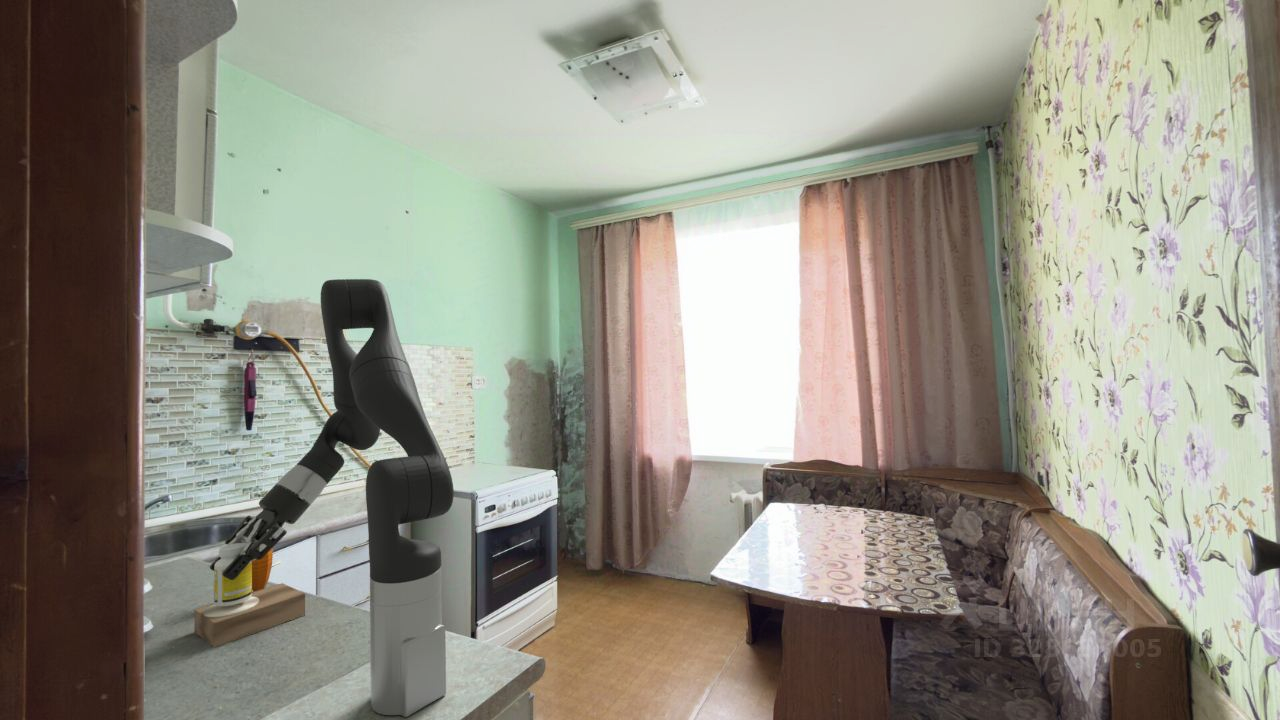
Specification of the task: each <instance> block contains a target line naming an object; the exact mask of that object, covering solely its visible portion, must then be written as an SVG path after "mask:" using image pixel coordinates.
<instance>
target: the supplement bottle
mask: <svg viewBox="0 0 1280 720" xmlns="http://www.w3.org/2000/svg"><path fill="white" fill-rule="evenodd" d="M245 546H246V543H235V544H230V545H227V544H225V545H222V546H221V547H219V548H218V549H219V551H218V554H219V555H218V557H221V559H220V560H218V561H217V562H216V563H215V565H214V573H213V574H214V577H213V579H214V580H213V587H214V590H213V591H214V592H213V594H214V595H213V598H214V599H213V600H214V601H213V602H214V603H213V604H215V605H217V606H229V605H234V604H238V603H241V602H243V601H245V600H247V599H249V598H250V597H251V595H252V592H253V590H252V561H250V563H249V564H248V565H247V566H246V567H245V568H244V569H243V570H242V572H241V573H240V574H239V575H238V576H237V577H236V578H235V579H234V580H230V579H228V578H226V577H224V576H223V575H222V573H223V571H224V570H225V569H226V568H227V567H228V566H229V565H230V564H231V563H232V561H233V560H234V559H235V558H236V557H237V556H238V555H240V553H241V552H242V550H243V549H244V547H245ZM240 556H241V555H240Z"/></svg>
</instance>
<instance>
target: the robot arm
mask: <svg viewBox="0 0 1280 720" xmlns="http://www.w3.org/2000/svg"><path fill="white" fill-rule="evenodd" d="M320 310H321V316H322V323H323V329H324V336H325V342H326V346H327V347H326V348H327V353H328V357H329V361H330V366H331V373H332V381H333V382H332V383H333V384H332V387H333V390H332V391H333V404H334V408H335V409H336V411H335V412H333V413H332V414H331V415H330V416H329V418H328V419H327V420H326V422H325V424H324V426H323V427H322V429H321V431H320V433H319V435H318V437H317V438H316V440H315V442H314V443H313V445H312V447H311V448H310V450H309V451H308V452H307V453H306V454H305V455H304V456H303V457H302V458H301V459H300V460H299V461H298V462H297V463H296V464H295V465H294V466H293V467H292V468H291V469H290V470H289V471H287V472H286V473H285V474H284V475H283V476H282V477H281V478H280V479H279V480H278V481H277V482H276V484H275V485H274V486H273V487H271V489H270V490H269V491H268V492H266V493H265V494H264V496H263V497H262V498H261V499H260V500H259V501H258V505H259V506H260V508H261V509H262V511H261V512H259V513H258V514H257V515H256V516H255V517H254V516H251V515H246V517H244V519H243V520H242V521H241V522H240V524H239V525H238V526H237V527H236V529H235V530H233V532H232V533H231V534H230V535H229V536H228V538H227V539H226V540H225V542H224V544H225V545H230V544H235V543H246V546H245V547H244V549H243V550H242V552H241V553H240V555H241V556H240V555H238V556H237V557H236V558H235V559H234V560H233V561H232V563H231V564H230V565H229V566H228V567H227V568H226V569H225V570H224V571H223V573H222V575H223V576H224V577H226V578H228V579H230V580H234V579H235V578H236V577H237V576H238V575H239V574H240V573H241V572H242V570H243V569H244V568H245V567H246V566H247V565H248V564H249V563H250V561H254V560H255V559H258V560H260V559H262V558H263V557H264V556H265V555H266V554H267V553H268V552H269V551H270V550H271V549H272V548H273V549H274V547H275V546H276V545H277V544H278V542H280V541H281V540H282V539H283V538H284V537H285V536H286V535H287V533H288V532H287V530H286V529H284V528H283V526H284V524H285V523H286V524H289V525H294V524H296V523H297V521H298V520H299V519H300V518H301V517H302V515H303V514H304V513H305V512H306V511H307V509H309V508H310V506H311V505H312V504H313V503H314V502H315V501H316V499H317V498H319V496H320V495H321V493H322V492H323V490H324V489H325V488H326V486H327V485H328V484H329V483H330V481H332V479H333V478H334V477H335V476H336V475H337V474H338V473H339V472H340V470H341V469H342V468H343V466H344V465H345V458H344V457H343V455H342V454H341V453H339V452H338V450H336V446H337V445H338V443H341V444H343V445H345V446H348V447H349V448H352V449H354V450H358V451H365V450H368V449H371V448H372V447H373V446H375V444H376V443H377V442H378V440H379V437H380V434H381V431H383V432H384V433H385V434H386V435H388V436H390V437H391V438H392V439H394V441H396V443H397V444H399V445H400V446H401V447H402V449H403V450H404V452H405V453H406V455H407V456H401V457H392V458H385V459H384V458H383V459H379V460H376V461H374V462H373V463H371V465H370V466H369V468H368V471H367V473H366V474H367V475H366V479H365V500H366V515H367V529H368V532H367V533H368V556H369V557H368V558H369V559H368V560H369V631H370V632H369V635H370V636H369V637H370V638H369V642H370V643H369V645H370V647H369V649H370V657H369V658H370V668H369V669H370V706H371V710H373V712H375V713H377V714H379V715H383V716H385V715H386V716H402V717H404V718H407V717H409V716H411V715H412V714H414V713H416V712H418V711H420V710H421V709H422V708H425V707H426V706H428V705H430V704H431V703H433V702H435V701H436V700H438V699H440V698H442V697H444V696H445V695H446V694H447V661H446V660H447V652H446V651H447V648H446V647H447V645H446V626H445V625H444V624H443V610H442V609H443V608H442V606H443V604H442V601H443V600H442V598H443V597H442V595H443V594H442V590H443V589H442V586H443V585H442V583H443V582H442V550H441V548H440V547H439V545H437V544H436V543H433V542H432V541H426V540H421V539H420V540H419V539H413V538H407V537H405V536H403V535H401V534H400V529H399V525H404V524H409V523H413V522H418V521H419V522H420V521H424V520H429V519H433V518H438V517H440V516H443V515H445V514H446V513H448V512H449V511H450V509H451V508H452V505H453V503H454V496H455V495H454V493H455V492H454V484H453V477H452V474H451V471H450V468H449V465H448V462H447V459H446V458H445V455H444V453H443V451H442V449H441V447H440V445H439V443H438V440H437V439H436V437H435V433H434V432H433V430H432V428H431V426H430V424H429V421H428V419H427V416H426V414H425V411H424V408H423V405H422V401H421V399H420V396H419V391H418V388H417V385H416V383H415V379H414V376H413V373H412V370H411V367H410V364H409V362H408V361H407V357H406V355H405V352H404V350H403V347H402V346H403V345H402V343H401V342H400V339H399V335H398V330H397V328H396V323H395V318H394V315H393V309H392V305H391V302H390V298H389V295H388V292H387V289H386V288H385V285H384V284H383V283H382V282H381V281H379V280H376V279H370V278H359V279H358V278H353V279H352V278H351V279H350V278H346V279H345V278H344V279H341V278H340V279H338V278H337V279H329V280H325V281H324V283H323V284H322V285H321V290H320ZM354 329H355V330H356V329H373V330H372V332H371V335H370V337H369V338H368V339H367V341H365V343H364V345H363V346H362V347H361V348H360V350H359V351H358V352H357V353H356V351H355V350H353V348H352V346H351V345H350V344H349V343H348V341H347V340H346V336H345V334H344V330H354ZM261 550H262V551H261ZM220 559H221V557H219V556H218V557H217V558H216V559H215V560H214V561H213V562H212V563H211V564H210V565H209V569H210V570H211V571H214V565H215V563H216V562H217V561H218V560H220Z"/></svg>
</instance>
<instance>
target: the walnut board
mask: <svg viewBox="0 0 1280 720" xmlns="http://www.w3.org/2000/svg"><path fill="white" fill-rule="evenodd" d="M303 615H304V616H305V615H306V593H305V592H302V591H300V590H298V589H296V588H294V587H292V586H289V585H288V584H286V583H279V584H276V585H271V586H269V587H265V588H264V589H261V590H258V591H255V592H253V591H252V595H251V597H250V598H249V599H247V600H245V601H243V602H241V603H238V604H234V605H229V606H217V605H215V603H212V604H209V605H206V606H202V607H198V608H195V609H194V620H193V621H194V626H193V627H194V633H195V634H196V635H197V636H199V637H200V638H202V639H203V640H204V641H206V642H207V643H208V644H209V645H211V646H212V647H213V648H217V647H219V646H222V645H225V644H228V643H230V642H233V641H235V640H239V639H242V638H245V637H247V636H251V635H252V634H255V633H258V632H261V631H265V630H267V629H270V628H272V627H276V626H278V625H281V624H284V623H286V621H287V622H290V621H292V620H291V619H293V620H294V618H295V619H297V617H298V618H300V616H301V617H304V616H303ZM289 620H290V621H289Z"/></svg>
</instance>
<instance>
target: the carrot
mask: <svg viewBox="0 0 1280 720" xmlns="http://www.w3.org/2000/svg"><path fill="white" fill-rule="evenodd" d="M261 551H262V550H261ZM273 554H274V547H273V548H272V549H271V550H270V551H269V552H268V553H267V554H266V555H265V556H264V557H263V558H262V559H260V560H258V559H255V560H254V561H252V592H255V591H258V590H261V589H265V588H266V586H267V584H268V581H269V579H270V575H271V571H272V566H273V559H274V558H273Z"/></svg>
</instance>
